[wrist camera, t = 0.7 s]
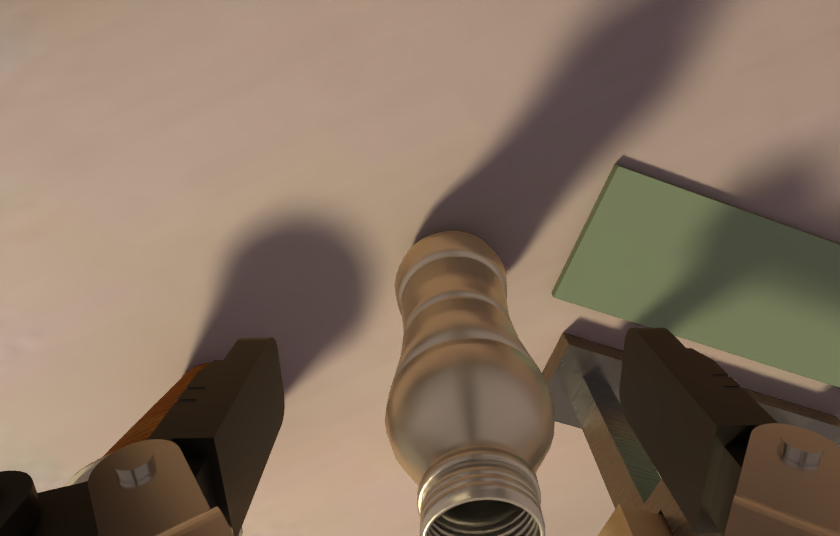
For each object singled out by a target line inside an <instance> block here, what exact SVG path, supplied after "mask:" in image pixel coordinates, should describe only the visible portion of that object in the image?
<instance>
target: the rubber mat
mask: <svg viewBox="0 0 840 536" xmlns="http://www.w3.org/2000/svg"><path fill="white" fill-rule="evenodd" d="M552 295H553V297H554V298H557V299H561V300H564V301H567V302H570V303H573V304H576V305H580V306H583V307H586V308H589V309H592V310H595V311H599V312H602V313H605V314H608V315H611V316H614V317H618V318H621V319H624V320H627V321H630V322H633V323H637V324H640V325H643V326H646V327H649V328H661V327H663V328H667V329H668V330H669V331H670V332H671V333H672V334H673V335H675V336H678V337H681V338H684V339H687V340H690V341H693V342H697V343H700V344H703V345H706V346H709V347H712V348H716V349H719V350H722V351H725V352H728V353H731V354H735V355H738V356H741V357H744V358H747V359H750V360H754V361H757V362H760V363H763V364H766V365H769V366H773V367H776V368H779V369H782V370H785V371H788V372H792V373H795V374H798V375H801V376H804V377H807V378H811V379H814V380H817V381H820V382H823V383H826V384H830V385H833V386H836V387H839V388H840V244H837V243H834V242H832V241H829V240H826V239H823V238H820V237H818V236H815V235H812V234H809V233H806V232H804V231H801V230H798V229H795V228H792V227H790V226H787V225H784V224H781V223H778V222H776V221H773V220H770V219H767V218H764V217H762V216H759V215H756V214H753V213H751V212H748V211H745V210H742V209H739V208H737V207H734V206H731V205H728V204H725V203H723V202H720V201H717V200H714V199H711V198H709V197H706V196H703V195H700V194H697V193H695V192H692V191H689V190H686V189H683V188H681V187H678V186H675V185H672V184H669V183H667V182H664V181H661V180H658V179H655V178H653V177H650V176H647V175H644V174H641V173H639V172H636V171H633V170H630V169H627V168H625V167H622V166H619V165H616V164H615V165H614V167H613V169H612V171H611V173H610V175H609V177H608V179H607V181H606V183H605V185H604V187H603V189H602V191H601V193H600V195H599V197H598V200H597V202H596V204H595V206H594V208H593V210H592V212H591V214H590V216H589V218H588V220H587V222H586V224H585V226H584V228H583V230H582V232H581V234H580V236H579V238H578V240H577V242H576V244H575V246H574V248H573V250H572V252H571V254H570V256H569V258H568V261H567V263H566V265H565V267H564V269H563V271H562V273H561V275H560V277H559V279H558V281H557V283H556V285H555V287H554V289H553V291H552Z"/></svg>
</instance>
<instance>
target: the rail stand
mask: <svg viewBox="0 0 840 536" xmlns="http://www.w3.org/2000/svg"><path fill="white" fill-rule="evenodd" d="M623 353H624V351H620V350H617V349H614V348H611V347H607V346H604V345H601V344H598V343H594V342H591V341H588V340H585V339H581V338H578V337H575V336H572V335H568V334H565V333H563V334H562V336H561V338H560V340H559V342H558V343H557V345H556V347H555V349H554V351H553V353H552V355H551V357H550V359H549V361H548V363H547V365H546V367H545V368H544V370H543V372H542V375H543V377H544V379H545V381H546V383H547V385H548V387H549V389H550V391H551V393H552V395H553V400H554V404H555V421H556V422H560V423H563V424H567V425H571V426H574V427H578V428H581V429H582V430H583V432H584V434H585V437H586V439H587V442H588V444H589V447H590V449H591V451H592V454H593V456H594V459H595V461H596V463H597V466H598V468H599V471H600V473H601V475H602V478H603V480H604V483H605V485H606V487H607V490H608V492H609V495H610V497H611V500H612V502H613V504H614V507H615V509H616V508H617V506H618V505H619V504H622V505H626V506H630V507H634V508H637V509H641V510H645V511H649V512H652V513H656V514H660V515H664V517H665V519H666V521H667V522H668V524H669V526H670V528H671V530H672V532H673V534H674V536H723V535H722V533H701V534H695V533H694V531H693V529H692V528H691V526H690V524H689V523H688V521H687V519H686V518H685V516H684V514H683V513H682V511H681V510H680V508H679V506H678V505H677V503H676V501H675V500H674V498H673V496H672V495H671V493H670V491H669V490H668V488H667V486H666V485H665V483H664V481H663V480H662V479H661V478H660V476H659V474H658V472H657V470H656V469H655V467H654V465H653V463H652V461H651V460H650V458H649V456H648V455H647V453H646V451H645V450H644V448H643V446H642V445H641V443H640V441H639V440H638V438H637V436H636V435H635V433H634V431H633V430H632V428H631V426H630V425H629V423H628V421H627V420H626V418H625V416H624V414H623V412H622V408H621V404H620V398H619V386H620V378H621V370H622V362H623ZM740 389H744V388H741V387H740ZM744 390H745V391H746V392H747V393H748V394H749V395H750V396H751V397H752V398H753V399H754V400H755V401H756V402H757V403H758V404H759V405H760V406H761V407H762V408H763V409H764V410H765V411H766V412H767V413H768V414H769V415H770V416H771V417H772V418H773V419H774V420H775V421H777V422H778V423H780V424H788V425H794V426H797V427H801V428H804V429H807V430H810V431H813V432H815V433H818V434H820V435H822V436H824V437H826V438H828V439H829V440H831V441H832V442H834V443H835V444H837V445H838V446H839V445H840V420H839V419H838V418H837V417H835V416H832V415H828V414H825V413H822V412H819V411H815V410H812V409H809V408H806V407H802V406H799V405H796V404H793V403H789V402H786V401H783V400H780V399H776V398H773V397H770V396H767V395H763V394H760V393H757V392H754V391H750V390H747V389H744Z"/></svg>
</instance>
